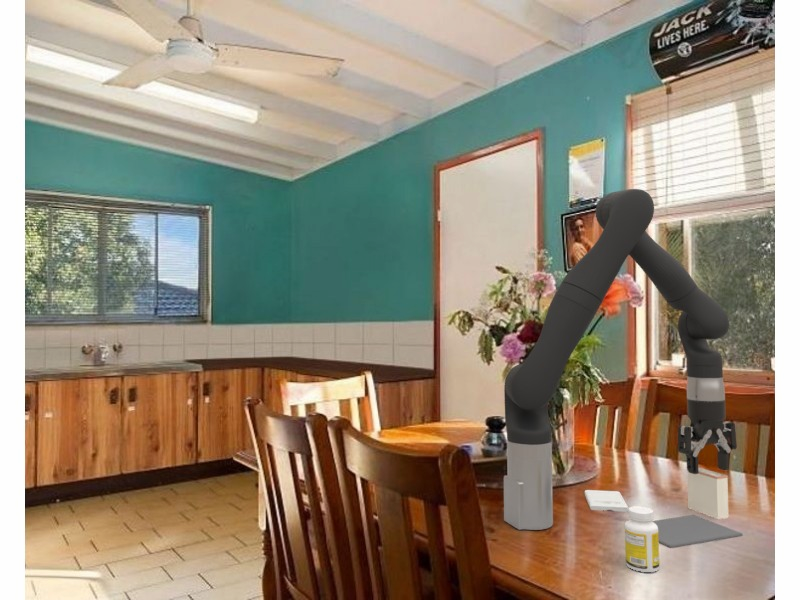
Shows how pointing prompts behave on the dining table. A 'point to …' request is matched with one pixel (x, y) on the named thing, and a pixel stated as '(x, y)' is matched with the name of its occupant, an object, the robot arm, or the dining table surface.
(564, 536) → the dining table surface
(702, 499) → the slab
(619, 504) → the external hard drive
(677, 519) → the mat
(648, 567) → the supplement bottle
